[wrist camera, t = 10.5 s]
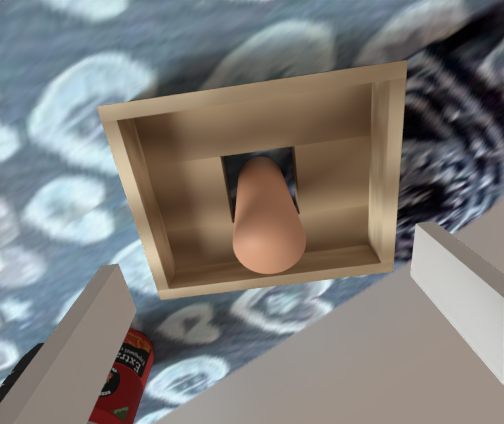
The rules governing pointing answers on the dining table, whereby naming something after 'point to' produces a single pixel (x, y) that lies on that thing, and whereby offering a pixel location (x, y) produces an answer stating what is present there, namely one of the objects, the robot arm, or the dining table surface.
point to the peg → (266, 219)
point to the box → (258, 139)
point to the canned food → (124, 382)
